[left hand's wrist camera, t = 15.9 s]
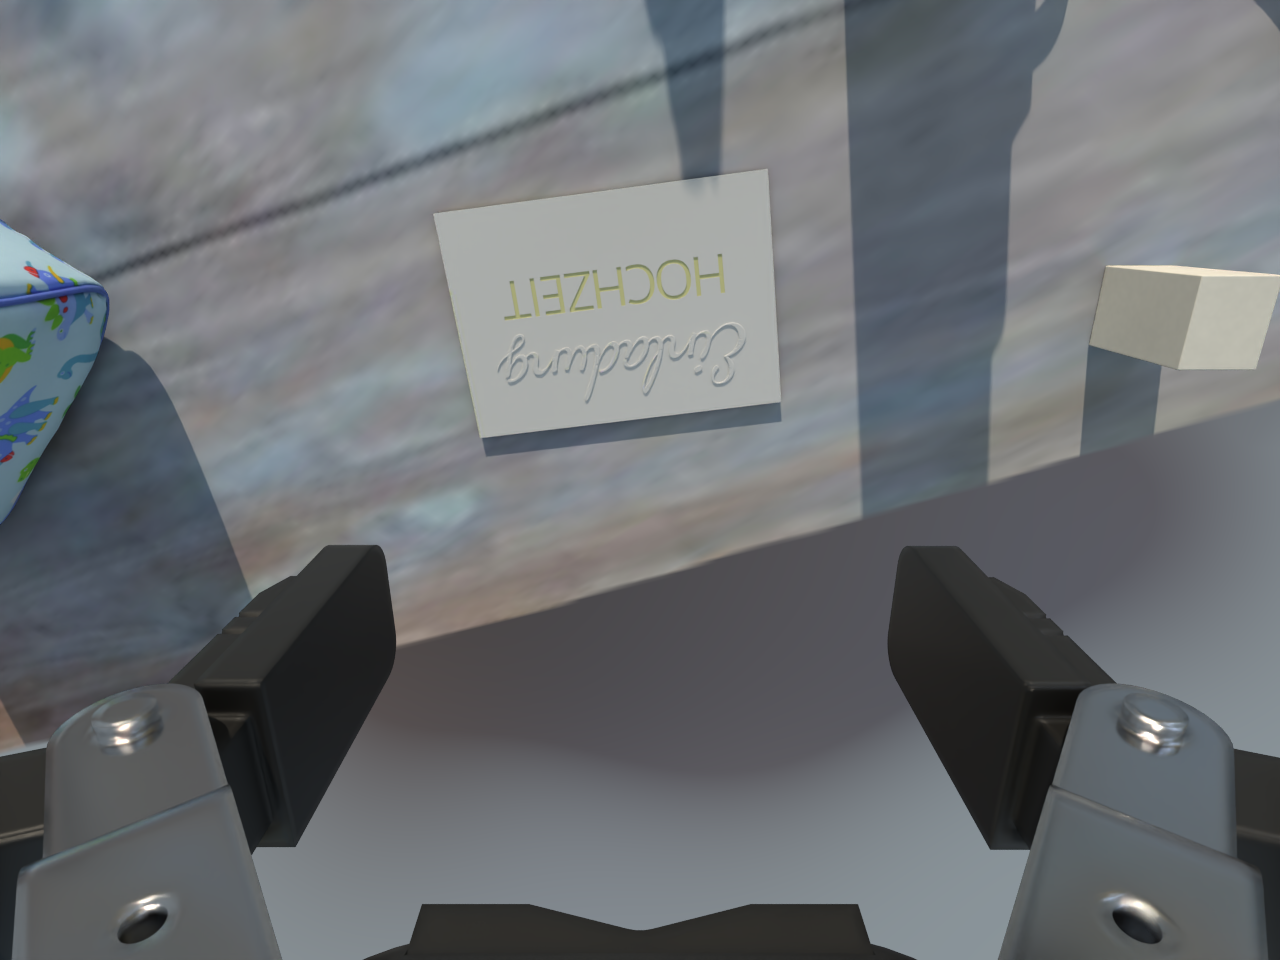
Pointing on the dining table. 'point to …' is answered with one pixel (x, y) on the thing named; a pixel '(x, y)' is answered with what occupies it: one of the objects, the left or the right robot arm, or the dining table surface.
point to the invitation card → (615, 303)
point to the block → (1185, 316)
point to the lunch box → (40, 352)
